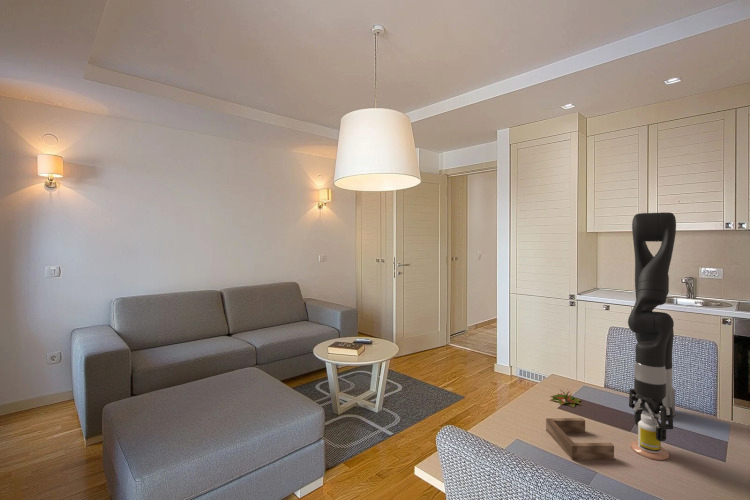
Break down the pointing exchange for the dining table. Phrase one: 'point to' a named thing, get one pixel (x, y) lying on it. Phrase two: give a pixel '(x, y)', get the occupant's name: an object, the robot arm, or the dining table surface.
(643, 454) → the terracotta coaster
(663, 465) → the dining table surface
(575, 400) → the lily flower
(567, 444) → the walnut cubby
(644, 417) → the supplement bottle
